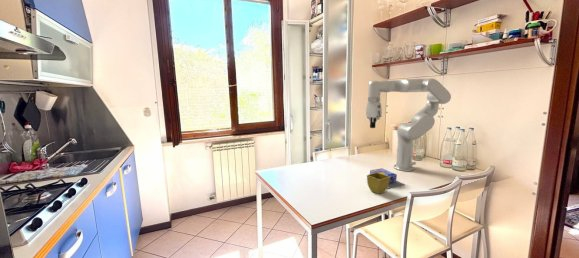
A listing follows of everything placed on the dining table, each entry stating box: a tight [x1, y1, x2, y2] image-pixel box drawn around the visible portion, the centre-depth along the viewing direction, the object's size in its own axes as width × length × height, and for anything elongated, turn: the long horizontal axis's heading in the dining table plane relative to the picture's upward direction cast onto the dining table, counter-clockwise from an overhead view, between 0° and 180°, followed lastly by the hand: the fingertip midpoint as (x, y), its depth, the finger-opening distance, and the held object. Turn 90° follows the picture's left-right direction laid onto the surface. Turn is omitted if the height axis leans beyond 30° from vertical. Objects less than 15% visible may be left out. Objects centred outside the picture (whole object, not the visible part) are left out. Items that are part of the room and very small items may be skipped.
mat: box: [386, 180, 405, 190], centre depth 149 cm, size 14×15×1 cm
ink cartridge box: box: [369, 168, 398, 184], centre depth 150 cm, size 10×6×14 cm
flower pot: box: [366, 173, 390, 195], centre depth 136 cm, size 9×9×9 cm
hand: (372, 127), depth 167 cm, fingers closed
